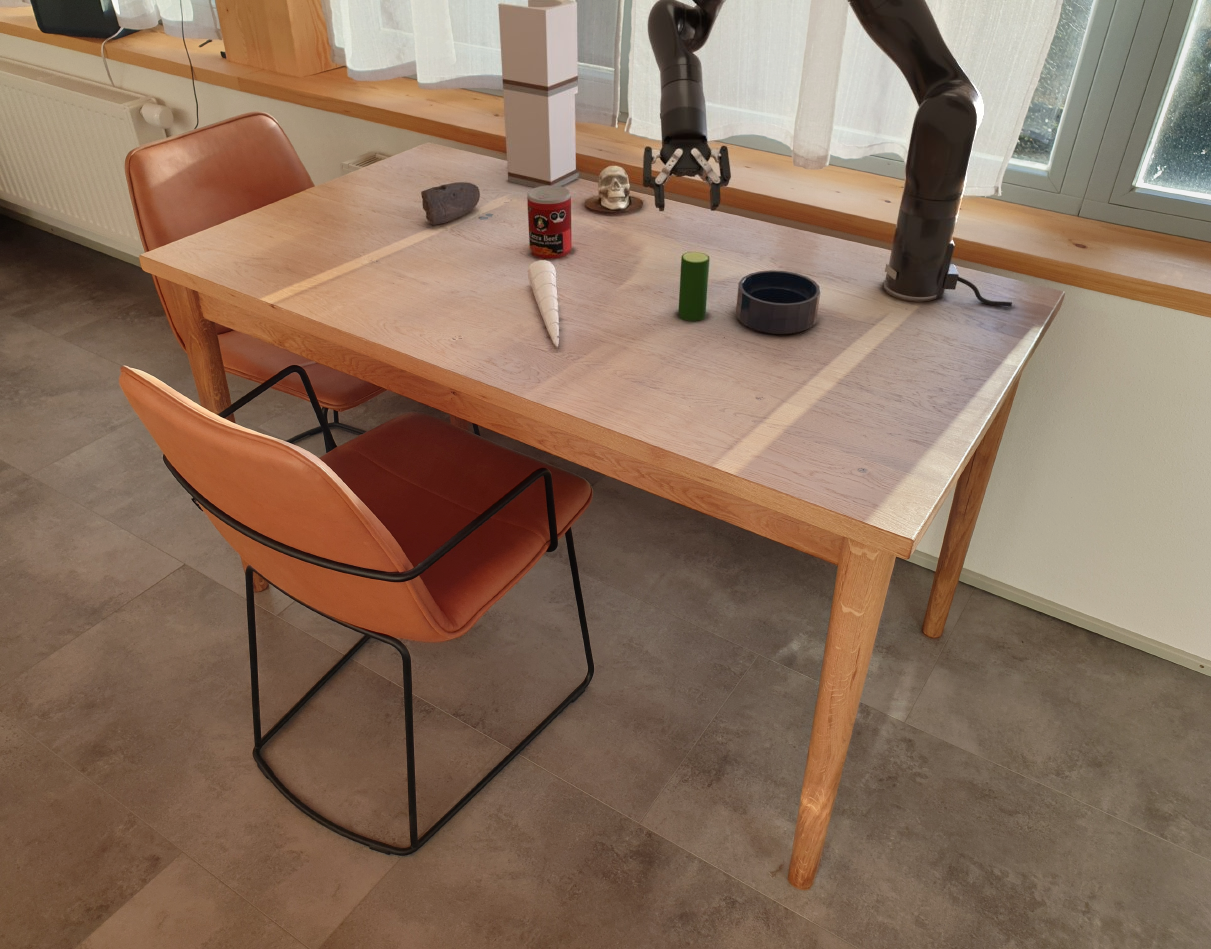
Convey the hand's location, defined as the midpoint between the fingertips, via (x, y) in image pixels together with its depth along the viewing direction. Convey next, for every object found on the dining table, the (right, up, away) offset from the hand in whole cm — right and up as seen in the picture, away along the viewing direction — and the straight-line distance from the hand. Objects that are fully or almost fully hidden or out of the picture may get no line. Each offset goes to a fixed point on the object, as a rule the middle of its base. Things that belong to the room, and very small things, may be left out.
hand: (688, 209), depth 152 cm
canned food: (-24, -2, +21) cm, 31 cm away
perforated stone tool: (-44, +8, +34) cm, 56 cm away
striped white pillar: (-27, +21, +53) cm, 63 cm away
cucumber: (+1, -17, 0) cm, 17 cm away
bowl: (+14, -18, -1) cm, 23 cm away
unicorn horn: (-22, -17, 0) cm, 28 cm away
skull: (-12, +12, +40) cm, 43 cm away
